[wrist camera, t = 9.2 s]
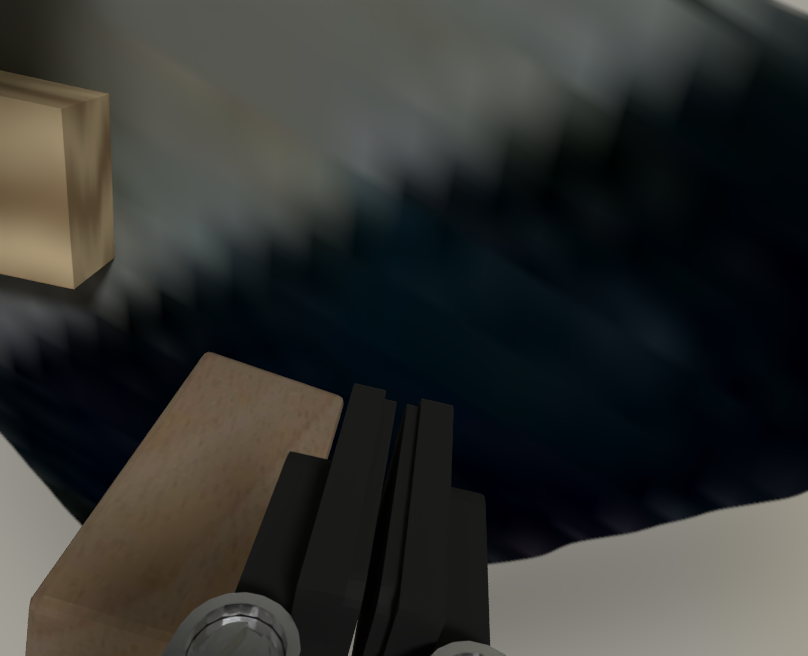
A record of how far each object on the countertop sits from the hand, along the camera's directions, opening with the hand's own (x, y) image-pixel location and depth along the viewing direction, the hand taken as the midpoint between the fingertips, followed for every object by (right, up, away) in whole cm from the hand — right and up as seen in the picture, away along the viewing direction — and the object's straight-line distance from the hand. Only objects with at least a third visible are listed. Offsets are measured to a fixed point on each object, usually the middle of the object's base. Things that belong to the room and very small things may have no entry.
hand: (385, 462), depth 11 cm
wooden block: (-10, -5, +35) cm, 37 cm away
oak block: (-21, +12, +27) cm, 36 cm away
